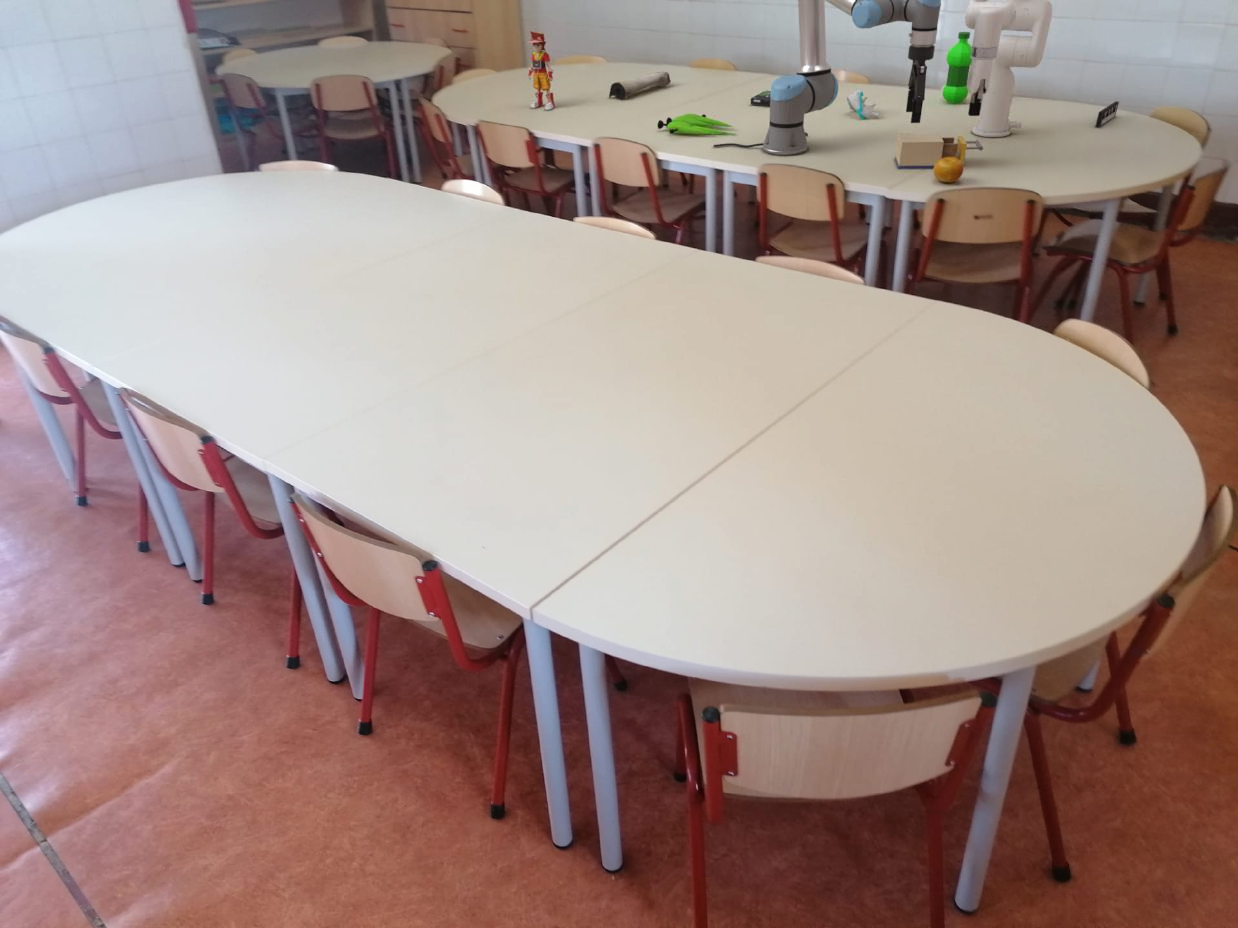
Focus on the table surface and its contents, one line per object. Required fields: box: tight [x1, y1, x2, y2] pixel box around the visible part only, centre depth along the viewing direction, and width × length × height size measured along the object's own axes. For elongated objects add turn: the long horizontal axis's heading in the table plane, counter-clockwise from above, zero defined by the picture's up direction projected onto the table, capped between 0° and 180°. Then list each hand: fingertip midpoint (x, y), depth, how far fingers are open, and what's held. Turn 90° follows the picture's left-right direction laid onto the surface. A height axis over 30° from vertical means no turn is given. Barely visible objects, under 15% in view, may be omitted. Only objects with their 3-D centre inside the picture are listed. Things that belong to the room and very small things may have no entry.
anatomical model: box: [846, 88, 881, 120], centre depth 344 cm, size 15×10×10 cm
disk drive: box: [750, 90, 771, 107], centre depth 369 cm, size 10×3×15 cm
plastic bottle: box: [942, 31, 972, 104], centre depth 348 cm, size 10×10×25 cm
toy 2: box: [657, 113, 735, 135], centre depth 338 cm, size 28×5×30 cm
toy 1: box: [527, 31, 556, 111], centre depth 374 cm, size 12×9×30 cm
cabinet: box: [895, 132, 944, 169], centre depth 291 cm, size 13×11×8 cm
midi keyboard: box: [1095, 100, 1120, 128], centre depth 320 cm, size 18×1×5 cm, turn 138°
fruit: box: [933, 157, 965, 183], centre depth 275 cm, size 8×9×8 cm
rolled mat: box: [608, 71, 672, 101], centre depth 395 cm, size 30×9×10 cm
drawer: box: [941, 135, 984, 165], centre depth 289 cm, size 17×9×6 cm, turn 81°
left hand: (912, 117), depth 285 cm, fingers open, 13 cm apart
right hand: (973, 115), depth 282 cm, fingers closed
